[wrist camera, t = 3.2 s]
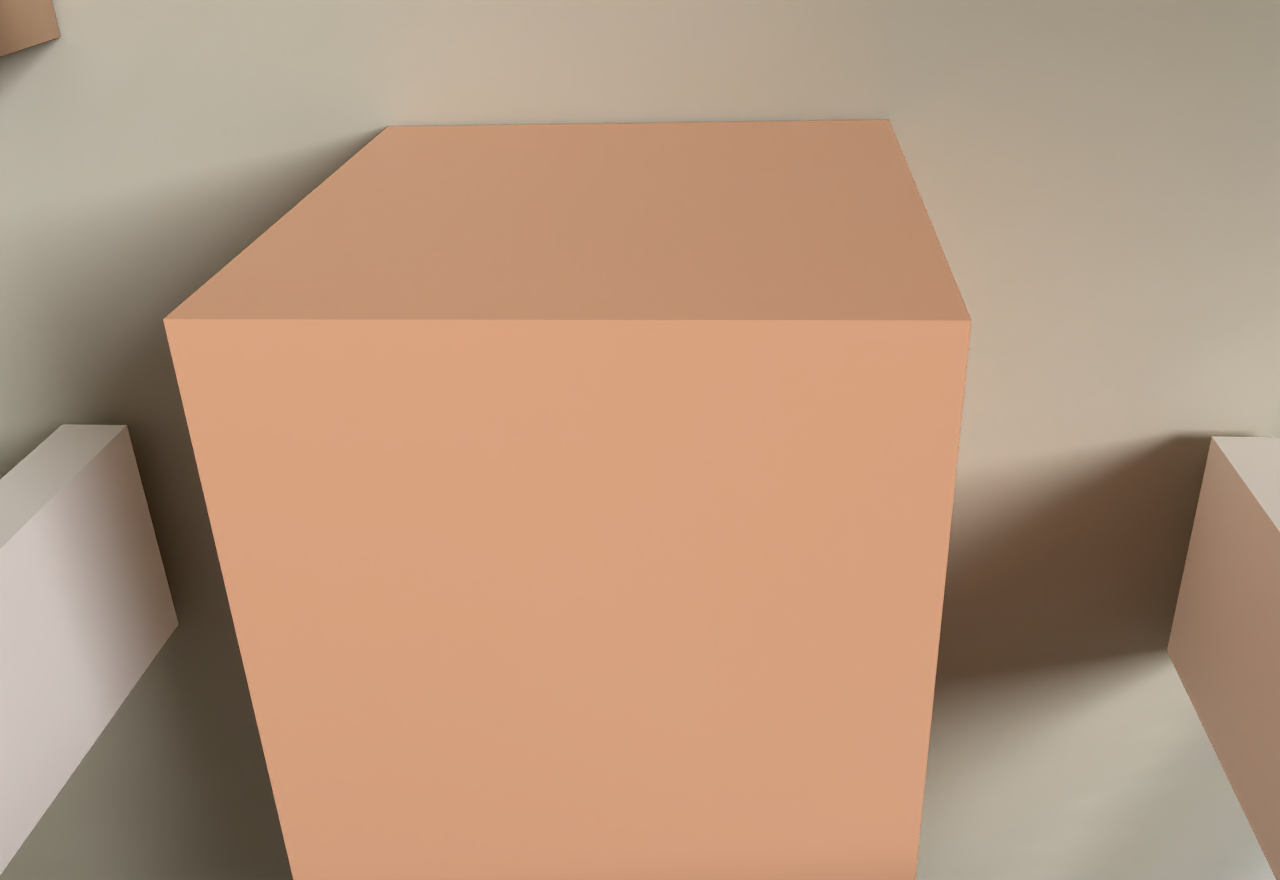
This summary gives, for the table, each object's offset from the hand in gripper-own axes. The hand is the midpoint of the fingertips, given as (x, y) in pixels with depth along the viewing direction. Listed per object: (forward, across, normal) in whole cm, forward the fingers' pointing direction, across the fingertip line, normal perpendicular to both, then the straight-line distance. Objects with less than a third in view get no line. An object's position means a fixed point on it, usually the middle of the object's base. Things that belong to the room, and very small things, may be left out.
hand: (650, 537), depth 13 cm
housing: (0, 0, 0) cm, 0 cm away
